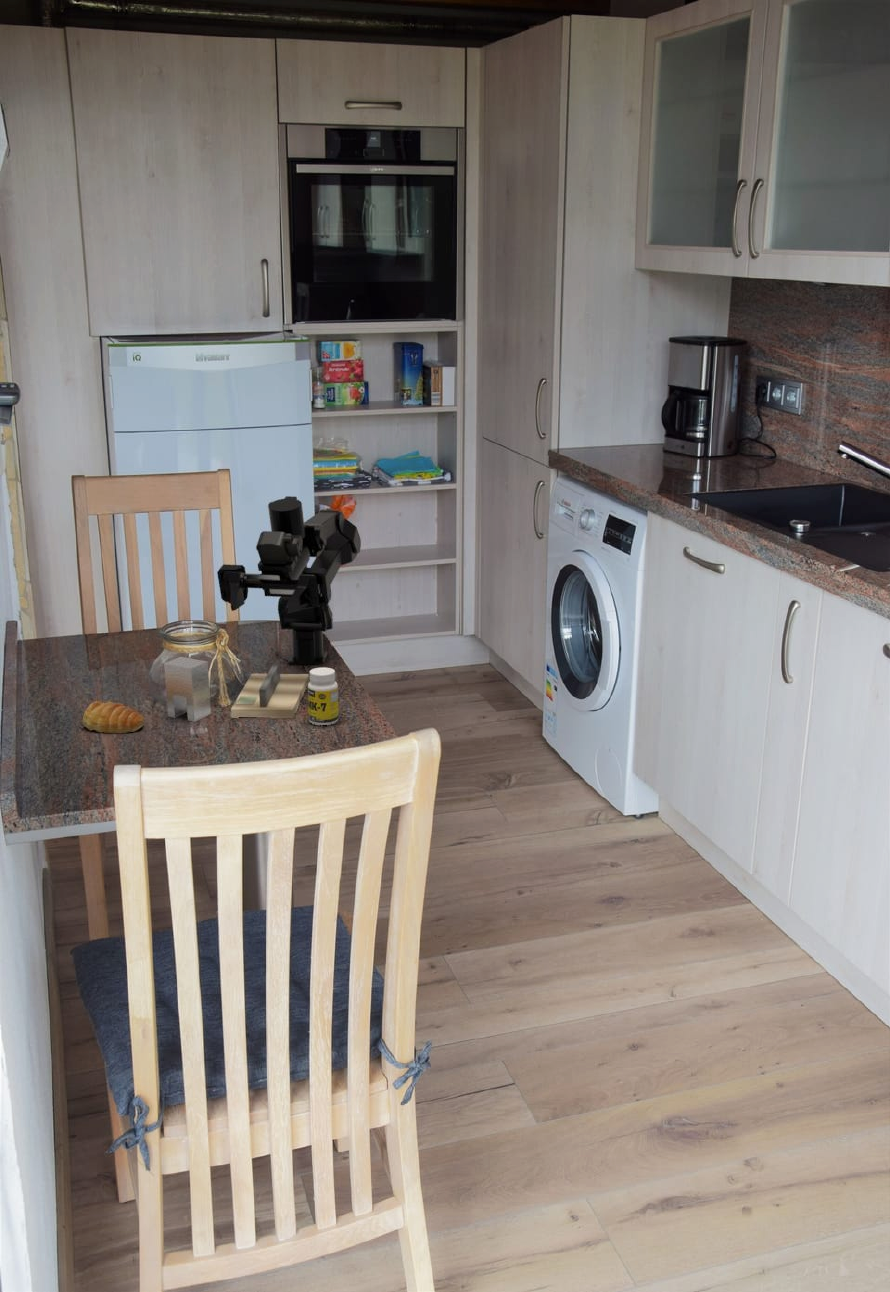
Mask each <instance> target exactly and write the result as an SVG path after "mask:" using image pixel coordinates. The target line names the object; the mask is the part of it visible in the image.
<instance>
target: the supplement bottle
mask: <svg viewBox="0 0 890 1292" xmlns="http://www.w3.org/2000/svg"><path fill="white" fill-rule="evenodd" d="M307 705H308V706H307V707H308V709H307V710H308V722H309V723H310V724H311V723H312V725H314V724H315V725H314V726H320V725H321V726H320V727H322V725H327V726H331V724H332V725H334V724H336V723H337V722H338V721H339V686H338V683H337V681H336V671H335V669H333V668H330V667H316V668H312V669H311V670H309V683H308V686H307Z"/></svg>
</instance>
